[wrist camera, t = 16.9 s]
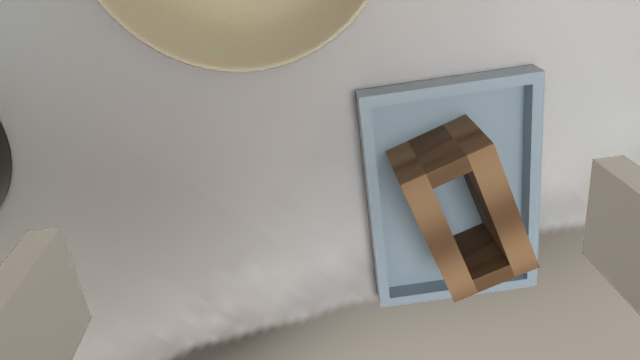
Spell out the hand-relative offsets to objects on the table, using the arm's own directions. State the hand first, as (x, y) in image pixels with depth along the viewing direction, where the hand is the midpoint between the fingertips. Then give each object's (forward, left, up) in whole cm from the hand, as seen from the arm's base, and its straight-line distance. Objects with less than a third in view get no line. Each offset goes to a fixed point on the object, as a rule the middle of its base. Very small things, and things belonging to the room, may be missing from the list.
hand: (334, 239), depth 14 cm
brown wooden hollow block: (+9, -13, -26) cm, 31 cm away
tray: (+9, -13, -27) cm, 31 cm away
